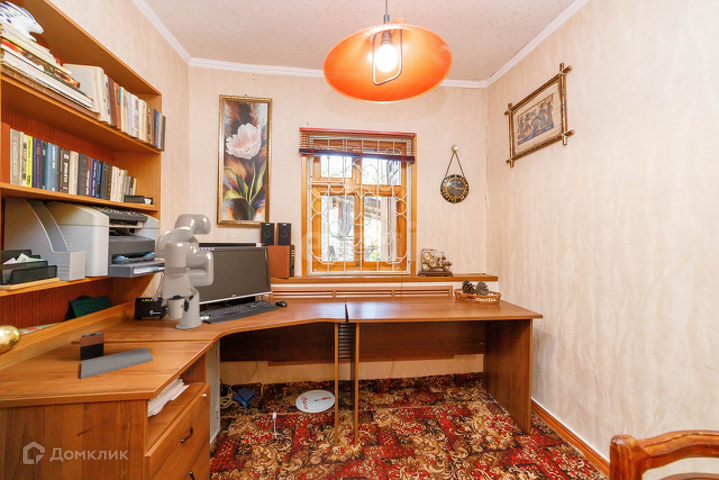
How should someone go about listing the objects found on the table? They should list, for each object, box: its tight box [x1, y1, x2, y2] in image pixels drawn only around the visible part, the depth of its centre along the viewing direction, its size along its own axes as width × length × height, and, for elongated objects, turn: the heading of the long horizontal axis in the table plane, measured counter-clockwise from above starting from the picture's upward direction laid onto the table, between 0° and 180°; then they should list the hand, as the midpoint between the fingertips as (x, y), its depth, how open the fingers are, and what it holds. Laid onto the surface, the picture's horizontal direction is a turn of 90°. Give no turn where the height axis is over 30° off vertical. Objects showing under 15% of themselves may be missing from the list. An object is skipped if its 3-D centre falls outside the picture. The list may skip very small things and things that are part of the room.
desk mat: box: [80, 346, 154, 379], centre depth 106 cm, size 20×16×1 cm
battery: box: [79, 331, 105, 361], centre depth 111 cm, size 4×7×10 cm, turn 130°
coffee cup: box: [166, 295, 185, 321], centre depth 114 cm, size 7×7×10 cm
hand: (175, 312), depth 114 cm, fingers closed on coffee cup, 7 cm apart
